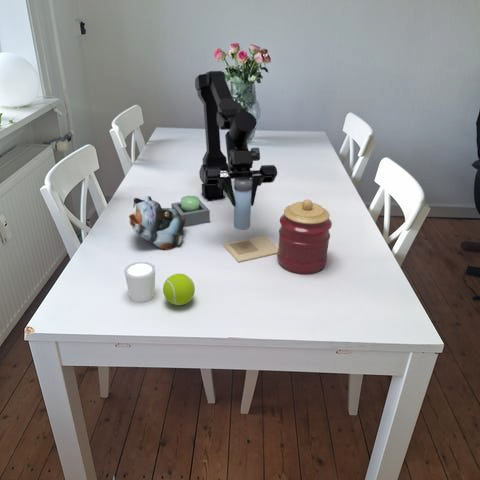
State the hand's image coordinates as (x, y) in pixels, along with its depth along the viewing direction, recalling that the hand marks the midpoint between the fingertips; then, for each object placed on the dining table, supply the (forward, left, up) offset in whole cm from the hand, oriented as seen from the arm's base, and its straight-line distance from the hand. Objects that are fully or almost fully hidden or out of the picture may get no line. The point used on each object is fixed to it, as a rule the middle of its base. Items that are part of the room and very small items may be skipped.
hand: (243, 205), depth 119 cm
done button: (+6, -24, -11) cm, 27 cm away
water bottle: (0, -1, -7) cm, 7 cm away
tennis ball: (+23, +15, -14) cm, 31 cm away
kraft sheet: (-3, 0, -14) cm, 14 cm away
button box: (+6, -24, -14) cm, 28 cm away
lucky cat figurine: (+19, -15, -14) cm, 28 cm away
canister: (-12, +11, -14) cm, 21 cm away
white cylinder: (+30, +9, -14) cm, 34 cm away
